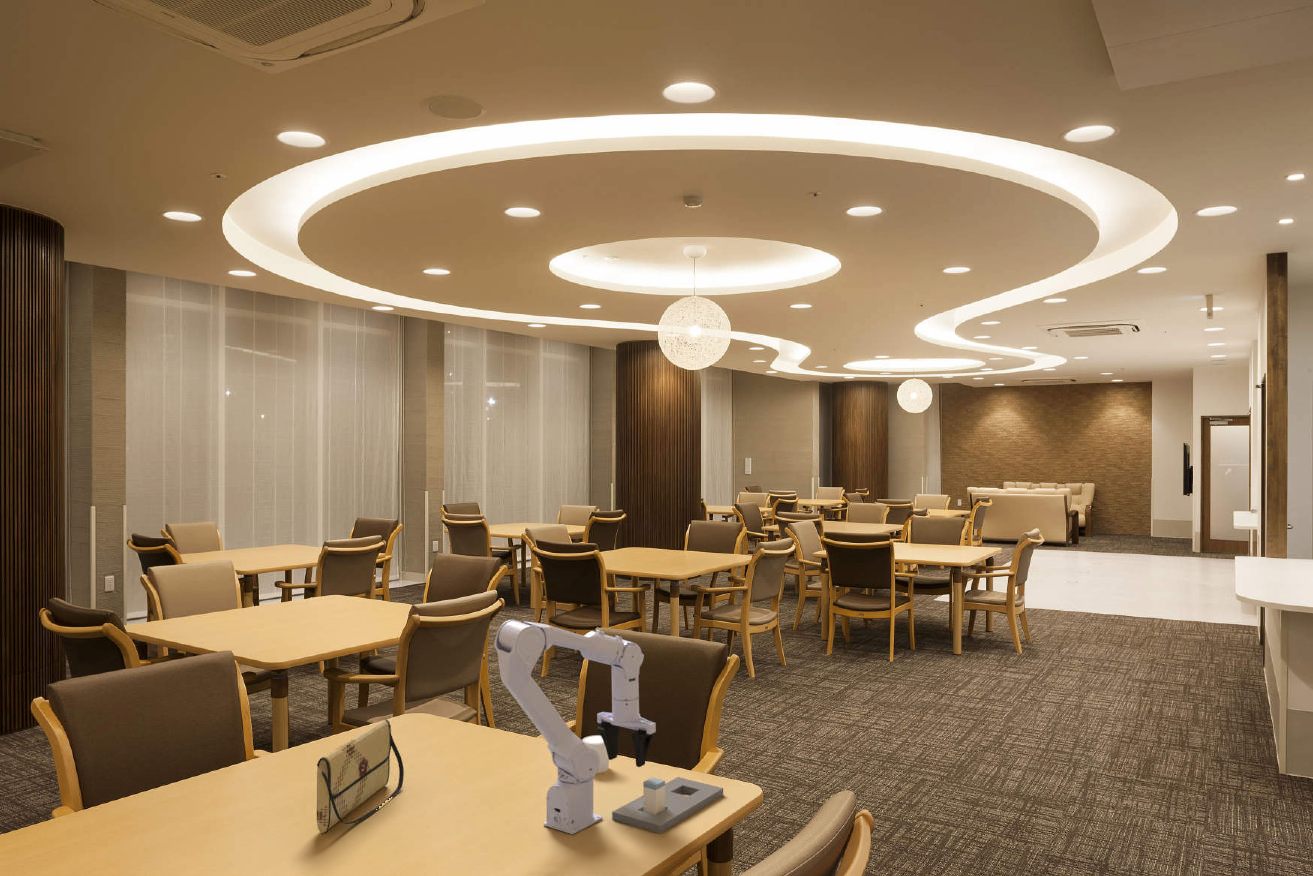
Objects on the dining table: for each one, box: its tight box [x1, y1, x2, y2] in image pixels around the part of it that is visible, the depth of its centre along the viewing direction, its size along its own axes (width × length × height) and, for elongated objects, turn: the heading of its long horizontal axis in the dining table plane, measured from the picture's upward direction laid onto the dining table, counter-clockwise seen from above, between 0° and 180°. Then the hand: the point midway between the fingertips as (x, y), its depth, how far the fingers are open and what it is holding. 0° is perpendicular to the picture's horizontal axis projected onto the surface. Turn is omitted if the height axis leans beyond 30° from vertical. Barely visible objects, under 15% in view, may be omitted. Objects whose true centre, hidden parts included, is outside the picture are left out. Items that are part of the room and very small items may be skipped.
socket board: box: [611, 776, 724, 834], centre depth 177 cm, size 24×12×2 cm, turn 144°
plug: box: [642, 777, 666, 815], centre depth 172 cm, size 3×3×7 cm
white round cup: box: [582, 734, 610, 774], centre depth 200 cm, size 7×7×7 cm
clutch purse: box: [316, 718, 405, 834], centre depth 177 cm, size 30×7×15 cm, turn 172°
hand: (626, 762), depth 177 cm, fingers open, 7 cm apart
